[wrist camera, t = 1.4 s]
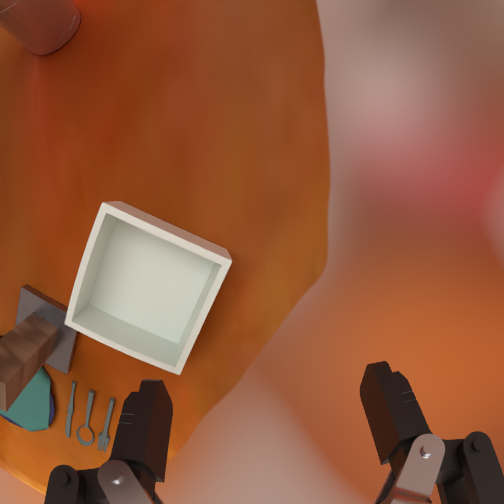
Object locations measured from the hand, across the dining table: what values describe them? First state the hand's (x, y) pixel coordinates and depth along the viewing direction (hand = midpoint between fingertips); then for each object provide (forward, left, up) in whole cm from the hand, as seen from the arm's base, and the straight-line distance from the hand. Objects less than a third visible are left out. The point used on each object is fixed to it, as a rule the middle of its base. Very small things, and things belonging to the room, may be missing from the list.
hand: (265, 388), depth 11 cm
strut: (-19, -20, -26) cm, 38 cm away
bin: (-7, -6, -28) cm, 29 cm away
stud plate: (-19, -20, -28) cm, 39 cm away
